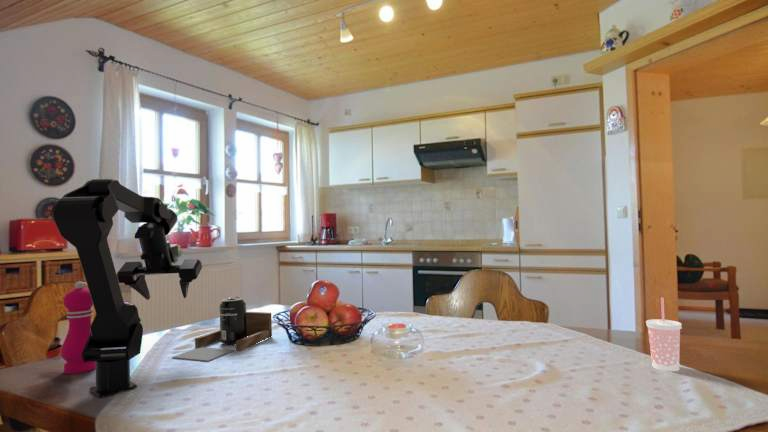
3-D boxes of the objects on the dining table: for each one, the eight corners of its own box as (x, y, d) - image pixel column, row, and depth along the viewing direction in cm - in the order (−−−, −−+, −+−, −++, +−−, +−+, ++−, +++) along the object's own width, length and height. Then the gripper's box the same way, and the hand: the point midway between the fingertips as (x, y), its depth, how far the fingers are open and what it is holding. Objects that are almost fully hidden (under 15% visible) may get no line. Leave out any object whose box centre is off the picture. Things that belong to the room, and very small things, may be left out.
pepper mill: (80, 375, 95) (78, 283, 96) (52, 374, 97) (51, 283, 97) (107, 365, 102) (105, 279, 103) (81, 364, 104) (79, 279, 104)
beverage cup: (652, 360, 92) (649, 294, 92) (687, 366, 88) (683, 296, 88) (644, 368, 88) (640, 298, 88) (680, 374, 83) (676, 301, 84)
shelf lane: (239, 351, 110) (239, 323, 110) (195, 347, 115) (194, 320, 115) (271, 337, 123) (271, 312, 123) (230, 334, 128) (229, 310, 128)
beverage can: (236, 338, 123) (235, 295, 124) (252, 341, 119) (251, 297, 120) (215, 344, 118) (214, 299, 118) (230, 347, 114) (229, 301, 114)
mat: (208, 361, 102) (208, 360, 102) (172, 358, 106) (172, 357, 106) (234, 350, 111) (234, 349, 111) (199, 348, 115) (199, 346, 115)
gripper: (202, 229, 115) (211, 278, 122) (127, 231, 113) (141, 281, 120) (190, 250, 105) (201, 303, 112) (108, 254, 103) (124, 307, 110)
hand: (167, 298), depth 114 cm, fingers open, 9 cm apart
